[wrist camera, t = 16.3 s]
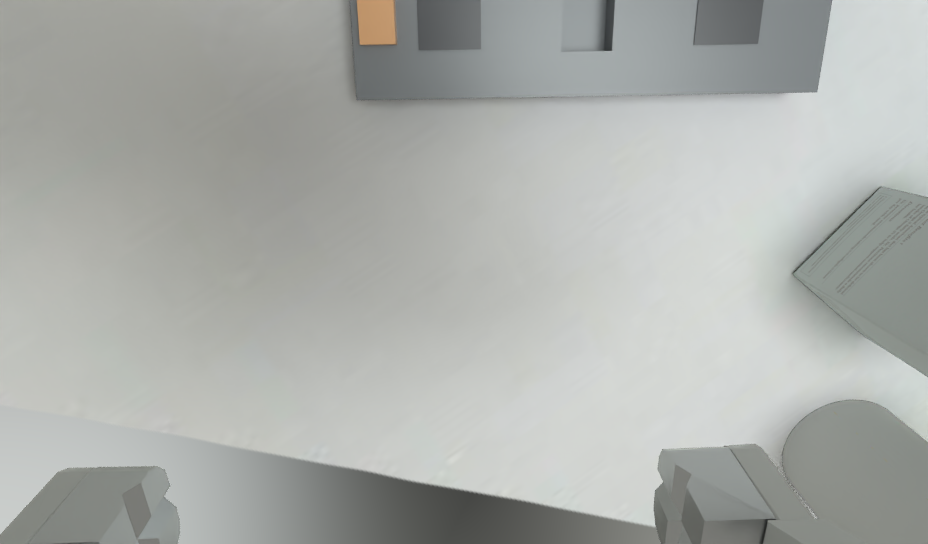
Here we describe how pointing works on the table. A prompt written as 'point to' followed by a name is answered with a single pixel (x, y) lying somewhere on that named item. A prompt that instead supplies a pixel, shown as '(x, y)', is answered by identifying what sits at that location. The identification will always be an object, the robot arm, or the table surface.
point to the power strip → (585, 47)
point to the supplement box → (879, 273)
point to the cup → (861, 471)
